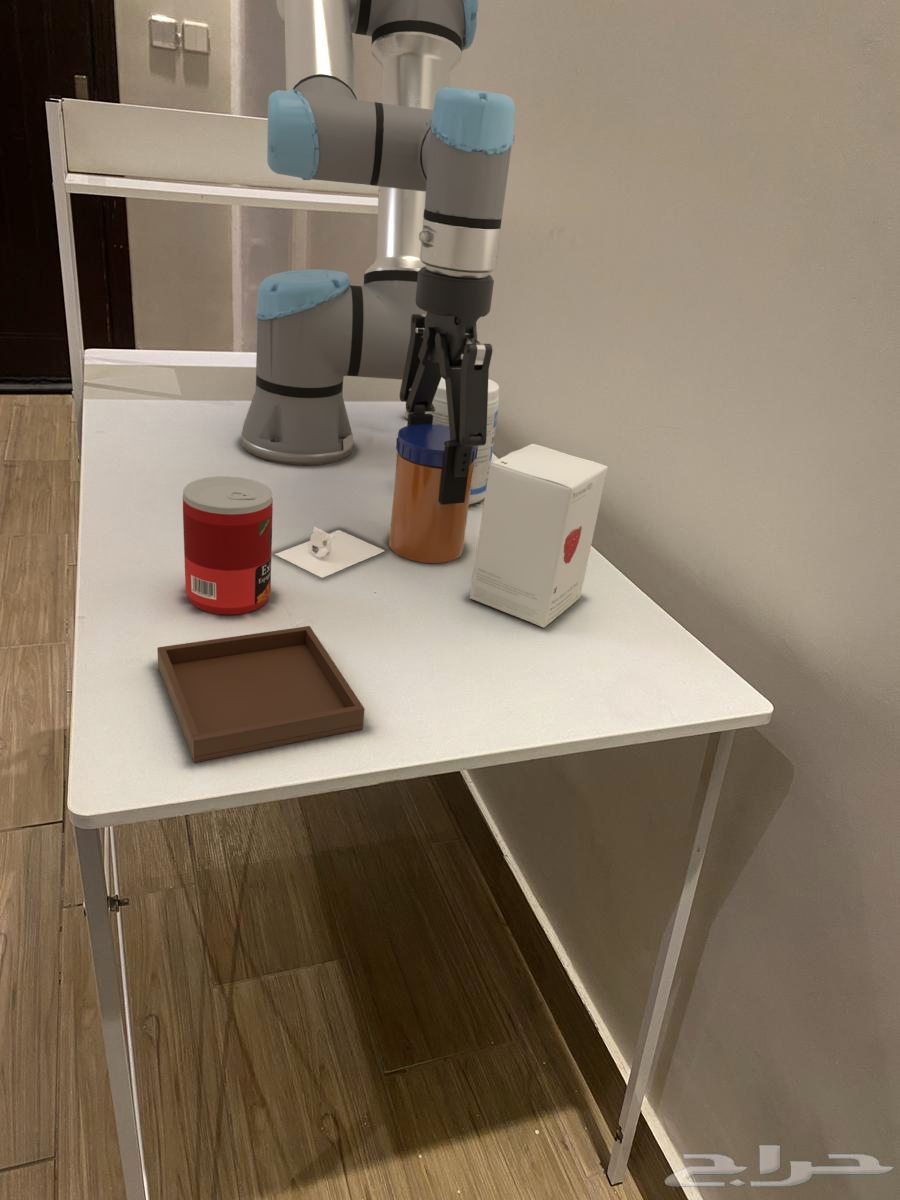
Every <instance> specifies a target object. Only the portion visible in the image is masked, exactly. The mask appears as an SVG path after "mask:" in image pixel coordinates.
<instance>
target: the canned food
mask: <svg viewBox="0 0 900 1200" xmlns="http://www.w3.org/2000/svg"><path fill="white" fill-rule="evenodd" d="M182 492H183V493H182V523H183V524H182V527H183V553H184V577H185V578H184V583H185V585H184V586H185V593H186V595H187V598H188V600H189V602H190V603H191V604H192V605H193V606H194V607H196V608H198V609H199V610H201V611H204V612H206V613H211V614H214V615H215V614H216V615H226V616H227V615H228V616H231V615H232V616H233V615H241V614H246V613H250V612H253V611H256V610H257V609H260V608H261V607H263V606H264V605H265V604H266V603H267V601H268V599H269V597H270V593H271V587H272V583H271V582H272V552H273V551H272V549H273V547H272V545H273V516H274V515H273V514H274V513H273V511H274V509H273V505H274V504H273V499H274V498H273V492H272V489H271V488H270V487H268V486H267V485H266V484H264V483H262V482H260V481H257V480H254V479H250V478H246V477H245V478H244V477H239V476H227V475H226V476H225V475H224V476H223V475H221V476H210V477H209V476H208V477H204V478H199V479H196V480H193V481H191V482H189V483H188V484H186V485H185V486H184V487H183V490H182Z"/></svg>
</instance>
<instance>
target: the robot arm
mask: <svg viewBox="0 0 900 1200" xmlns="http://www.w3.org/2000/svg"><path fill="white" fill-rule="evenodd" d="M275 5H276V8H277V12H278V14H279V17H280V19H281V22H282V23H283V24H284V53H285V55H284V57H285V58H284V61H285V90H278V89H277V90H276V91H273V92H271V93H270V94H269V96H268V100H267V130H266V131H267V134H266V135H267V136H266V139H267V140H266V141H267V146H266V150H267V151H266V155H267V156H266V158H267V159H266V161H267V162H266V163H267V165H268V167H269V169H270V170H271V171H272V172H273V173H275V174H277V175H282V176H288V177H293V178H300V179H302V180H303V181H311V180H314V181H324V182H335V183H346V184H354V185H355V184H356V185H366V186H374V187H378V193H377V225H376V249H375V250H376V251H375V253H376V254H375V261H374V262H373V263H372V264H371V265H370V266H369V267H368V268H367V269H366V270H365V271H364V273H363V285H353V284H352V285H351V280H350V276H349V274H347V273H346V272H344V271H340V270H331V269H330V270H329V269H325V268H324V269H323V268H322V269H319V268H318V269H317V268H316V269H315V268H313V269H312V268H311V269H310V268H309V269H297V270H288V271H282V272H278V273H277V272H276V273H274V274H271V275H269V276H267V277H265V278H264V279H263V280H262V281H261V282H260V283H259V286H258V290H257V305H256V310H255V314H254V317H255V319H256V322H257V325H256V356H255V357H256V359H255V363H256V364H255V390H254V394H253V397H252V399H251V402H250V405H249V407H248V410H247V413H246V416H245V419H244V422H243V425H242V430H241V445H242V447H243V448H244V449H245V451H247V452H248V453H249V454H252V455H253V456H256V457H257V458H261V459H264V460H267V461H271V462H276V463H280V464H281V463H282V464H288V465H301V466H302V465H303V466H306V465H311V466H312V465H323V464H331V463H334V462H338V461H342V460H343V459H346V458H347V457H349V456H350V455H351V454H352V452H353V445H354V436H353V435H354V434H353V432H352V427H351V424H350V420H349V416H348V412H347V409H346V408H347V407H346V403H345V400H344V397H343V396H344V394H343V393H344V390H343V389H344V377H357V378H360V377H361V378H373V379H385V380H387V379H388V380H401V383H400V390H399V400H400V402H401V403H402V402H403V403H404V402H405V412H406V411H407V412H409V414H408V419H407V424H406V426H410V425H416V424H432V423H433V415H432V414H425V412H434V411H435V409H434V406H433V404H432V402H433V399H434V396H435V394H436V391H437V388H438V386H439V383H440V380H441V377H442V378H443V379H445V384H446V395H447V407H448V418H449V430H450V440H449V441H445V442H444V444H445V451H444V459H443V468H442V477H441V485H440V494H439V503H440V504H442V505H443V504H455V503H464V502H465V495H466V487H467V479H468V473H469V466H470V459H471V451H472V448H473V446H481V445H485V444H486V436H487V406H488V379H489V375H490V374H489V373H490V372H489V371H490V365H491V361H492V356H493V346H492V345H493V344H491V343H481V342H480V341H479V340H478V330H477V323H478V320H479V319H480V318H484V317H486V316H487V315H489V314H490V312H491V308H492V307H491V306H492V300H493V291H494V285H495V279H493V276H491V274H490V273H491V272H494V271H495V270H497V264H498V254H499V247H500V239H501V232H502V219H503V212H504V206H505V198H506V190H507V184H508V177H509V169H510V162H511V156H512V155H511V154H512V147H513V146H514V144H515V137H516V136H515V133H514V130H515V117H516V116H515V115H516V105H515V102H514V99H512V97H510V96H509V95H507V94H504V93H498V92H497V93H496V92H491V91H482V90H475V89H468V88H459V87H451V86H449V81H450V72H451V71H452V70H453V69H455V68H456V67H457V66H458V65H459V63H461V60H462V58H463V57H462V54H463V51H465V50H468V49H469V48H471V46H472V44H473V43H474V39H475V37H476V30H477V23H478V17H477V15H478V12H479V0H275ZM353 34H355V35H360V36H367V37H371V45H370V46H371V47H370V49H371V55H372V57H373V58H374V59H375V61H376V62H377V63H378V64H379V65H380V66H381V68H382V80H381V102H376V101H375V102H374V101H368V100H360V96H359V86H358V77H357V76H358V75H357V68H356V67H357V66H356V58H355V50H354V49H355V47H354V40H353ZM410 388H411V390H409V389H410ZM459 432H460V434H459ZM476 433H477V434H476Z"/></svg>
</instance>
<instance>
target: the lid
mask: <svg viewBox="0 0 900 1200" xmlns="http://www.w3.org/2000/svg"><path fill="white" fill-rule="evenodd" d="M459 434H460V432H459ZM449 440H450V430H449V426H444V425H436V424H416V425H410V426H407V425H406V426H404V427H402V428H400V429H399V430H398V431H397V437H396V444H395V449H396V453H397V452H398V453H399V454H400V455H401V456H402V457H404V458H406V459H408V460H410V461H413V462H416V463H420V464H424V465H429V466H436V467H443V459H444V451H445V444H444V442H445V441H449ZM477 451H478V446H473V448H472V451H471V459H470V463H472V462H474V461H475V459H476V458H477Z"/></svg>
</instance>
